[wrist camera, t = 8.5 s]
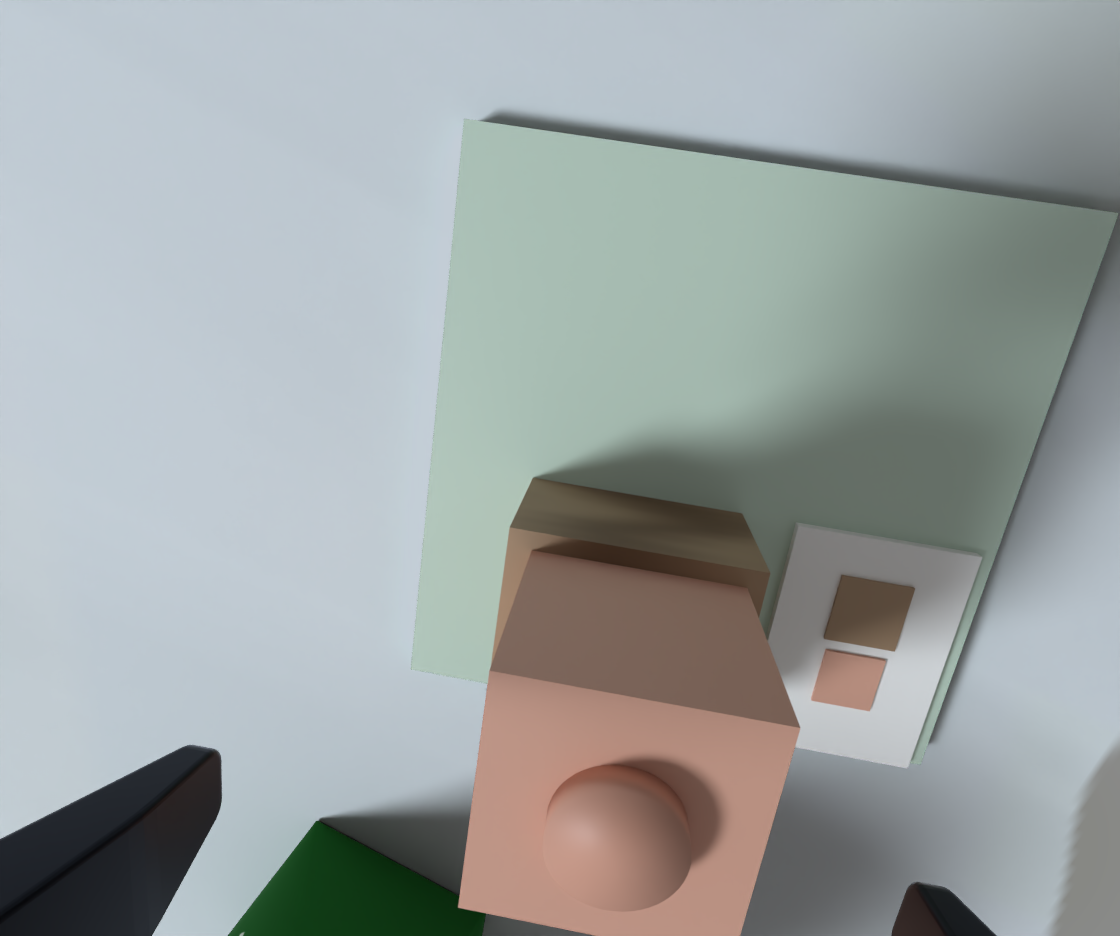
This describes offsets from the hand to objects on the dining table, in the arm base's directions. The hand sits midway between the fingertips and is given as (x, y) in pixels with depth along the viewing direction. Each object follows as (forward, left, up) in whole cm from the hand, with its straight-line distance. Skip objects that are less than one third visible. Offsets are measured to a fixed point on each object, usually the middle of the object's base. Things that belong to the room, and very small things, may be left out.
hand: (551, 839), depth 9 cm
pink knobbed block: (-1, +2, -7) cm, 8 cm away
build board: (-3, -2, -12) cm, 13 cm away
